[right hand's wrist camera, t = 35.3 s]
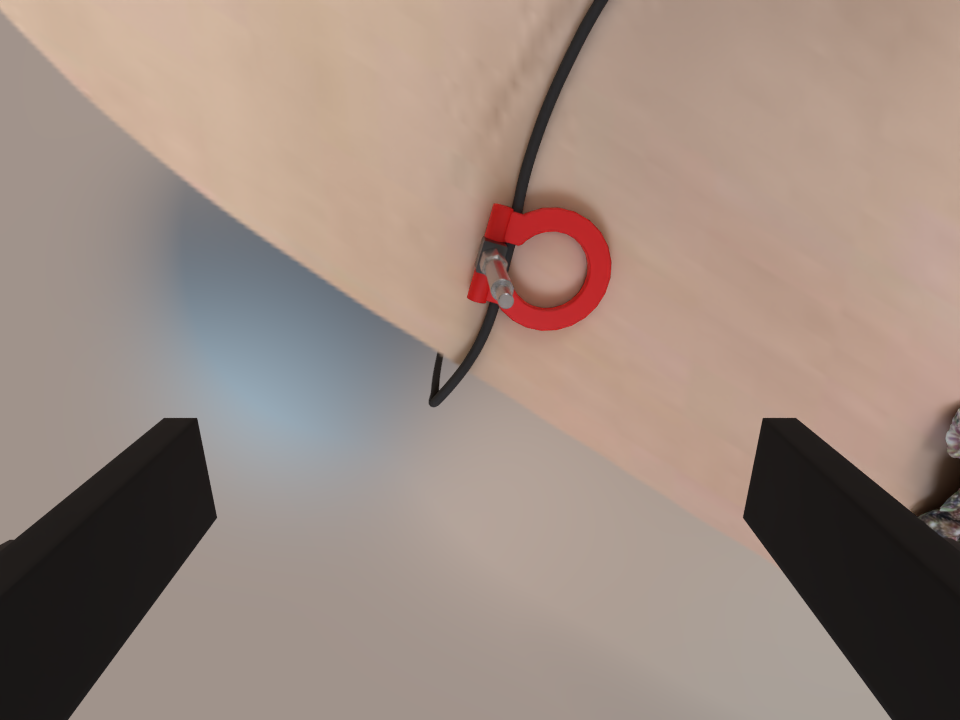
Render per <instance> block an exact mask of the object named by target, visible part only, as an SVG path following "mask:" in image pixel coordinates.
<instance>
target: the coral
mask: <svg viewBox="0 0 960 720" xmlns="http://www.w3.org/2000/svg"><path fill="white" fill-rule="evenodd" d="M946 442H947V444H948V445H947V447H948V449H947V452H948V454H949V455H950V456H951V457H953V458H960V408H959V409H958V411H957V413H956V415H955V416H954V417H953V421H952V424H951V425H950V429H949V430H948V432H947V434H946ZM940 508H941V509H937V510H933V511H930V512H927V513H925V514H922V515H920V516H918V518H919V519H921V520H922V521H923V522H924V523H926V524H927V525H928V526H929V527H930V528H932V529H933V530H934V531H935V532H937V533H938V534H939V535H940V536H942V537H943V538H952V539H954V540H956V541H958V542H959V543H960V488H959V490H958V491H957V492H956V493H955V494H953V495H952V496H951V497H949V498H948V499H947V500H946V502H945V503H944V504H943V505H942V506H941V507H940Z"/></svg>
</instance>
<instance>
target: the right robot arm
mask: <svg viewBox="0 0 960 720" xmlns="http://www.w3.org/2000/svg"><path fill="white" fill-rule="evenodd" d="M607 2H608V0H594V2H593V3H592V5H591V7H590V8H589V10H588V12H587V13H586V15H585V17H584V19H583V20H582V22H581V24H580V26H579V28H578V30H577V32H576V34H575V36H574V38H573V40H572V41H571V44H570V46H569V48H568V50H567V52H566V54H565V56H564V58H563V60H562V62H561V64H560V66H559V68H558V71H557V73H556V75H555V77H554V79H553V82H552V84H551V86H550V88H549V91H548V93H547V95H546V98H545V100H544V103H543V105H542V108H541V110H540V113H539V115H538V118H537V121H536V123H535V126H534V129H533V132H532V135H531V138H530V141H529V144H528V147H527V150H526V153H525V156H524V159H523V163H522V167H521V170H520V174H519V178H518V182H517V187H516V191H515V196H514V201H513V206H512V209H514V210H513V211H514V212H517V213H521V214H522V211H523V206H524V201H525V196H526V191H527V187H528V183H529V179H530V175H531V171H532V168H533V164H534V161H535V158H536V155H537V152H538V149H539V146H540V143H541V140H542V137H543V134H544V131H545V129H546V126H547V123H548V121H549V118H550V115H551V113H552V110H553V108H554V105H555V103H556V101H557V98H558V96H559V94H560V92H561V89H562V87H563V85H564V83H565V81H566V78H567V76H568V74H569V72H570V70H571V68H572V66H573V64H574V62H575V60H576V58H577V56H578V54H579V52H580V50H581V48H582V46H583V44H584V42H585V40H586V38H587V36H588V34H589V32H590V30H591V29H592V27H593V25H594V23H595V22H596V20H597V18H598V16H599V15H600V13H601V11H602V10H603V8H604V6H605V5H606V3H607ZM505 244H506V246H507V248H508V249H507V253H506V256H505V259H506V261H507V263H508V266H507V269H506V271H507V273H508V270H509V266H510V262H511V259H512V255H513V251H514V248H515V245H514V244H511V243H507V242H505ZM498 309H499V305H498V304H496V303H493V302H490V304H489V307H488V310H487V314H486V316H485V319H484V322H483V325H482V327H481V329H480V332H479V334H478V336H477V338H476V340H475V342H474V344H473V346H472V348H471V349H470V351H469V353H468V354H467V356H466V358H465V359H464V361H463V362H462V363H461V365H460V366H459V368H458V369H457V370H456V372H455V373H454V374H453V375H452V377H451V378H450V379H449V380H448V381H447V383H446V384H445V385H444V386H443V387H442V388H441V389H440V390H439V383H440V373H441V367H442V361H443V356H444V355H443V354H441V353H439V352H437V356H436V360H435V365H434V371H433V376H432V384H431V393H430V397H429V405H430V406H431V407H436V406H438V405H439V404H440V403H441V402H442V401H443V400H444V399H445V398H446V397H447V396H448V395H449V394H450V393H451V392H452V391H453V389H454V388H455V387H456V386H457V385H458V384H459V382H460V381H461V380H462V379H463V377H464V376H465V375H466V373H467V372H468V371H469V369H470V368H471V366H472V365H473V363H474V362H475V360H476V359H477V357H478V355H479V354H480V352H481V350H482V348H483V346H484V344H485V342H486V340H487V338H488V336H489V334H490V331H491V329H492V326H493V324H494V321H495V318H496V315H497V312H498ZM216 518H217V516H216V510H215V505H214V500H213V495H212V490H211V485H210V480H209V475H208V470H207V465H206V460H205V455H204V450H203V445H202V440H201V435H200V430H199V425H198V420H197V418H164V419H162V420H161V421H160V422H159V423H157V424H156V425H155V426H154V427H152V428H151V429H150V430H149V431H148V432H146V433H145V434H144V435H143V436H141V437H140V438H139V439H138V440H137V441H135V442H134V443H133V444H132V445H130V446H129V447H128V448H127V449H125V450H124V451H123V452H122V453H121V454H119V455H118V456H117V457H116V458H114V459H113V460H112V461H111V462H109V463H108V464H107V465H106V466H105V467H103V468H102V469H101V470H100V471H98V472H97V473H96V474H95V475H94V476H92V477H91V478H90V479H89V480H87V481H86V482H85V483H84V484H82V485H81V486H80V487H79V488H78V489H76V490H75V491H74V492H73V493H71V494H70V495H69V496H68V497H66V498H65V499H64V500H63V501H62V502H60V503H59V504H58V505H57V506H55V507H54V508H53V509H52V510H51V511H49V512H48V513H47V514H46V515H44V516H43V517H42V518H41V519H39V520H38V521H37V522H36V523H35V524H33V525H32V526H31V527H30V528H28V529H27V530H26V531H25V532H23V533H22V534H21V535H20V536H18V537H17V538H16V539H15V540H9V541H7V542H5V543H3V544H1V545H0V720H68V719H69V718H70V716H71V715H72V714H73V712H74V711H75V710H76V708H77V707H78V705H79V704H80V703H81V701H82V700H83V699H84V697H85V696H86V695H87V693H88V692H89V691H90V689H91V688H92V686H93V685H94V684H95V682H96V681H97V680H98V678H99V677H100V676H101V674H102V673H103V672H104V670H105V669H106V668H107V666H108V665H109V663H110V662H111V661H112V659H113V658H114V657H115V655H116V654H117V653H118V651H119V650H120V648H121V647H122V646H123V644H124V643H125V642H126V640H127V639H128V638H129V636H130V635H131V634H132V632H133V631H134V630H135V628H136V627H137V625H138V624H139V623H140V621H141V620H142V619H143V617H144V616H145V615H146V613H147V612H148V611H149V609H150V608H151V607H152V605H153V604H154V602H155V601H156V600H157V598H158V597H159V596H160V594H161V593H162V592H163V590H164V589H165V588H166V586H167V585H168V583H169V582H170V581H171V579H172V578H173V577H174V575H175V574H176V573H177V571H178V570H179V569H180V567H181V566H182V564H183V563H184V562H185V560H186V559H187V558H188V556H189V555H190V554H191V552H192V551H193V550H194V548H195V547H196V545H197V544H198V543H199V541H200V540H201V539H202V537H203V536H204V535H205V533H206V532H207V530H208V529H209V528H210V527H211V525H212V524H213V522H214V521H215V520H216ZM743 518H744V520H745V521H746V522H747V524H748V525H749V527H750V528H751V529H752V531H753V532H754V533H755V535H756V536H757V537H758V539H759V540H760V541H761V543H762V544H763V545H764V547H765V548H766V550H767V551H768V552H769V554H770V555H771V556H772V558H773V559H774V560H775V562H776V563H777V564H778V566H779V567H780V569H781V570H782V571H783V573H784V574H785V575H786V577H787V578H788V579H789V581H790V582H791V583H792V585H793V586H794V587H795V589H796V590H797V592H798V593H799V594H800V596H801V597H802V598H803V600H804V601H805V602H806V604H807V605H808V606H809V608H810V609H811V610H812V612H813V613H814V615H815V616H816V617H817V619H818V620H819V621H820V623H821V624H822V625H823V627H824V628H825V630H826V631H827V632H828V634H829V635H830V636H831V638H832V639H833V640H834V642H835V643H836V644H837V646H838V647H839V649H840V650H841V651H842V652H843V654H844V655H845V657H846V658H847V659H848V661H849V662H850V663H851V665H852V666H853V668H854V669H855V670H856V672H857V673H858V674H859V676H860V677H861V678H862V680H863V681H864V682H865V684H866V685H867V687H868V688H869V689H870V691H871V692H872V693H873V695H874V696H875V697H876V699H877V700H878V701H879V703H880V704H881V705H882V707H883V708H884V710H885V711H886V712H887V714H888V715H889V716H890V718H891V719H892V720H960V543H959V542H958V541H956V540H954V539H952V538H943V537H942V536H940V535H939V534H938V533H937V532H935V531H934V530H933V529H932V528H930V527H929V526H928V525H927V524H926V523H924V522H923V521H922V520H921V519H919V518H918V517H917V516H916V515H914V514H913V513H912V512H911V511H910V510H908V509H907V508H906V507H905V506H903V505H902V504H901V503H900V502H898V501H897V500H896V499H895V498H894V497H892V496H891V495H890V494H889V493H887V492H886V491H885V490H884V489H883V488H881V487H880V486H879V485H878V484H876V483H875V482H874V481H873V480H871V479H870V478H869V477H868V476H867V475H865V474H864V473H863V472H862V471H860V470H859V469H858V468H857V467H855V466H854V465H853V464H852V463H851V462H849V461H848V460H847V459H846V458H844V457H843V456H842V455H841V454H839V453H838V452H837V451H836V450H835V449H833V448H832V447H831V446H830V445H828V444H827V443H826V442H825V441H823V440H822V439H821V438H820V437H819V436H817V435H816V434H815V433H814V432H812V431H811V430H810V429H809V428H808V427H806V426H805V425H804V424H803V423H801V422H800V421H799V420H798V419H796V418H763V420H762V425H761V430H760V435H759V440H758V445H757V450H756V455H755V460H754V465H753V470H752V475H751V480H750V485H749V490H748V495H747V500H746V505H745V510H744V515H743Z"/></svg>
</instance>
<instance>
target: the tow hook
mask: <svg viewBox="0 0 960 720" xmlns="http://www.w3.org/2000/svg"><path fill="white" fill-rule="evenodd" d="M513 210H514V209H512V208H510V207H507V206H504V205H501V204H496V203H494V204H493V208H492V211H491V215H490V218H489V222H488V225H487V229H486V232H485V236H483V238H482V241H481V245H480V248H479V252H478V255H477V259H476V262H475V271H474V274H473V278H472V281H471V285H470V288H469V292H468V295H467V298H468V299H470V300H472V301H474V302H477V303H486V301H489V302H493V303H496V304H498V305H499V307H500V308H501V310H502V311H503V312H504V313H505V314H506V315H507V316H508V317H510V318H511V319H512V320H513V321H515V322H517V323H519V324H521V325H523V326H525V327H527V328H531V329H536V330H541V331H545V330H558V329H562V328H565V327H569V326H572V325H573V324H575V323H577V322H579V321H580V320H582V319H584V318H585V317H586V316H587V315H589V314H590V313H591V312H592V311H593V310H594V309H595V308H596V307H597V305H598V304H599V302H600V301H601V299H602V297H603V296H604V294H605V293H606V289H607V286H608V283H609V280H610V275H611V258H610V253H609V248H608V245H607V243H606V241H605V239H604V237H603V235H602V233H601V232H600V231H599V230H598V229H597V228H596V227H595V225H594V224H593V223H592V222H591V221H590V220H588V219H586V218H585V217H583V216H581V215H579V214H578V213H576V212H574V211H570V210H566V209H562V208H558V207H556V208H540V209H537V210H533V211H530V212H527V213H525V214H521V213H517V212H514V211H513ZM555 231H556V232H560V233H565V234H567V235H569V236H571V237H573V238H574V239H575V240H576V241H577V242H578V243H579V244H580V245H581V247H582V248H583V250H584V252H585V254H586V259H587V263H588V266H587V276H586V279H585V282H584V285H583V286H582V288H581V289H580V291H579V293H578V294H577V295H576V296H575V297H574V298H573V299H571V300H570V301H568V302H566V303H565V304H563V305H560V306H557V307H554V308H540V307H536V306H532V305H531V304H529V303H527V302H525V301H524V300H523V299H522V298H520V297H519V296H518V295H517V293H516V291H515V290H514V287H513V285H512V282H511V279H510V278H509V275H508V273H507V271H506V269H507V266H508V263H507V261H506V259H505V256H506V253H507V249H508V248H507V246H506V244H505V242H507V243H511V244H514V245H518V246H519V245H522V244H523V243H524V242H525V241H526V240H528V239H530V238H531V237H533V236H534V235H537V234H540V233H543V232H555Z"/></svg>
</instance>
